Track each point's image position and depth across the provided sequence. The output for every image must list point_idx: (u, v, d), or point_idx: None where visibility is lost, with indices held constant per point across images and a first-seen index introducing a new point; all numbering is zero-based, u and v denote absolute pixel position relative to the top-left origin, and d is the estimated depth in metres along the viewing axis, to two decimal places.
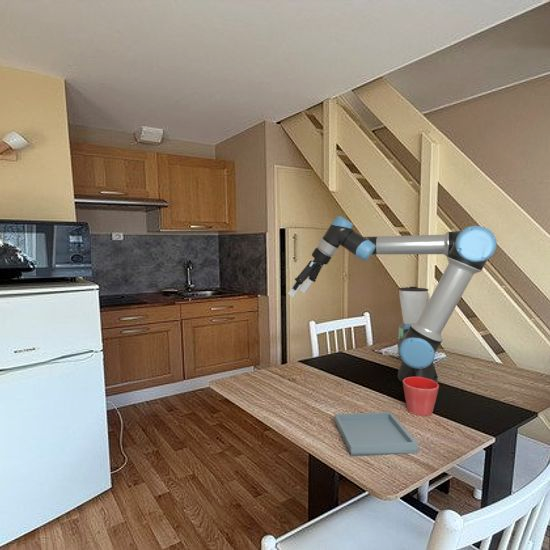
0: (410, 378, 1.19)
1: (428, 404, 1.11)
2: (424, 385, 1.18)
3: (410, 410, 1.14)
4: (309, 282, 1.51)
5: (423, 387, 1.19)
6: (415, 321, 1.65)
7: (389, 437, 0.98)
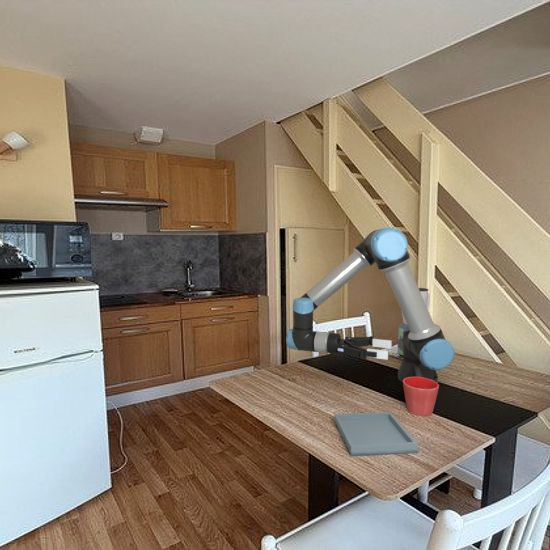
0: (410, 378, 1.19)
1: (428, 404, 1.11)
2: (424, 385, 1.18)
3: (410, 410, 1.14)
4: (375, 341, 1.26)
5: (423, 387, 1.19)
6: None
7: (389, 437, 0.98)
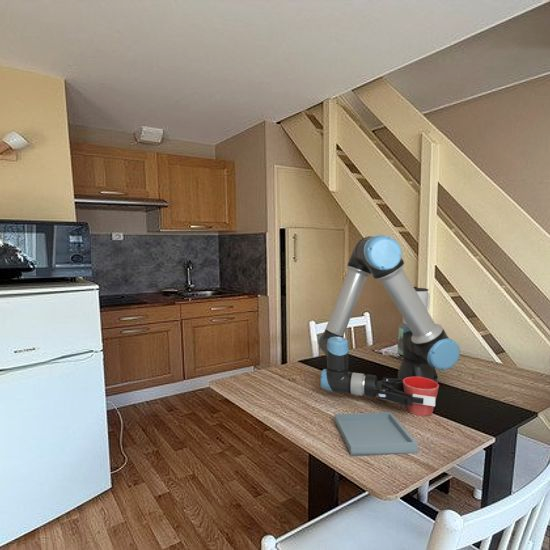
0: (410, 378, 1.19)
1: None
2: (424, 385, 1.18)
3: (410, 410, 1.14)
4: None
5: (423, 387, 1.19)
6: None
7: (389, 437, 0.98)
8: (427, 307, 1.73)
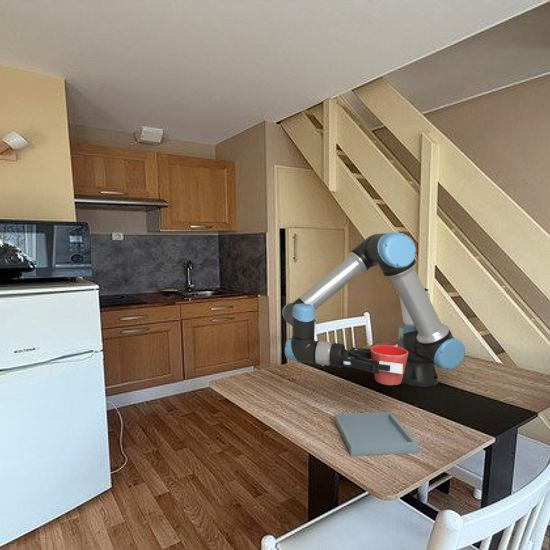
0: (379, 346, 1.11)
1: None
2: (394, 354, 1.10)
3: (377, 379, 1.06)
4: None
5: None
6: None
7: (389, 437, 0.98)
8: None
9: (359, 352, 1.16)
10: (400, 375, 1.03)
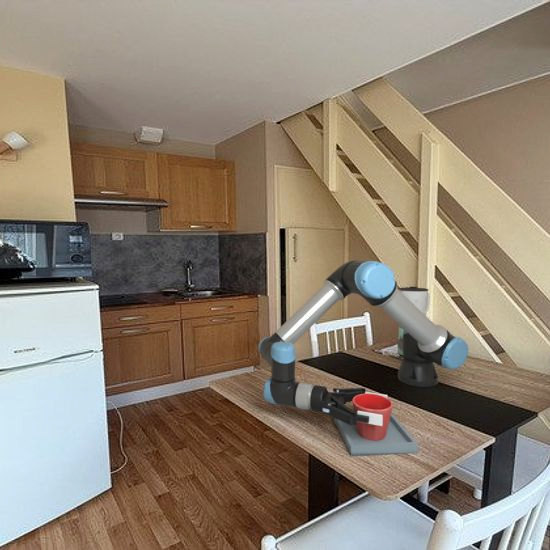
0: (363, 395, 1.04)
1: (379, 427, 0.95)
2: (378, 403, 1.03)
3: (360, 433, 0.98)
4: None
5: (377, 406, 1.03)
6: None
7: (389, 437, 0.98)
8: (427, 307, 1.73)
9: None
10: (384, 430, 0.96)
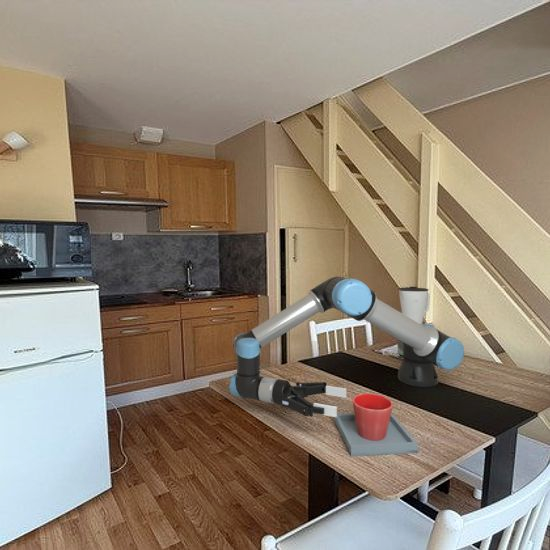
0: (363, 395, 1.04)
1: (379, 427, 0.95)
2: (378, 404, 1.03)
3: (360, 433, 0.98)
4: (328, 389, 1.11)
5: (377, 406, 1.03)
6: (415, 321, 1.65)
7: (389, 437, 0.98)
8: (427, 307, 1.73)
9: None
10: (384, 430, 0.96)
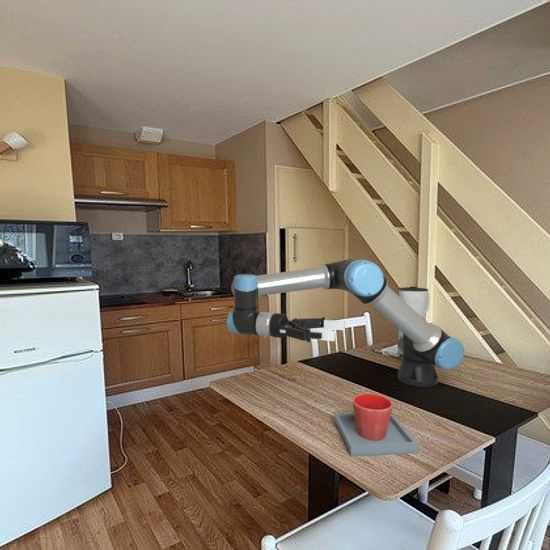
0: (363, 395, 1.04)
1: (379, 427, 0.95)
2: (378, 404, 1.03)
3: (360, 433, 0.98)
4: (326, 323, 1.10)
5: (377, 406, 1.03)
6: None
7: (389, 437, 0.98)
8: (427, 307, 1.73)
9: (301, 322, 1.12)
10: (384, 430, 0.96)
